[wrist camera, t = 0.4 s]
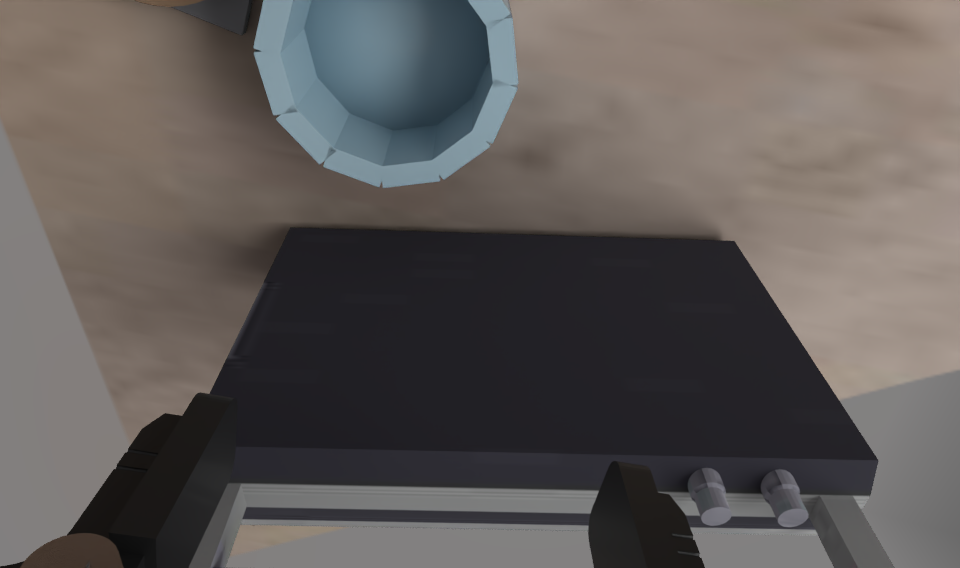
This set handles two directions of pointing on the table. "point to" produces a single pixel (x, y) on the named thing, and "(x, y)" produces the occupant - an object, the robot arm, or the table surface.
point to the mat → (221, 13)
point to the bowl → (389, 82)
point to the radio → (530, 391)
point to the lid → (169, 2)
